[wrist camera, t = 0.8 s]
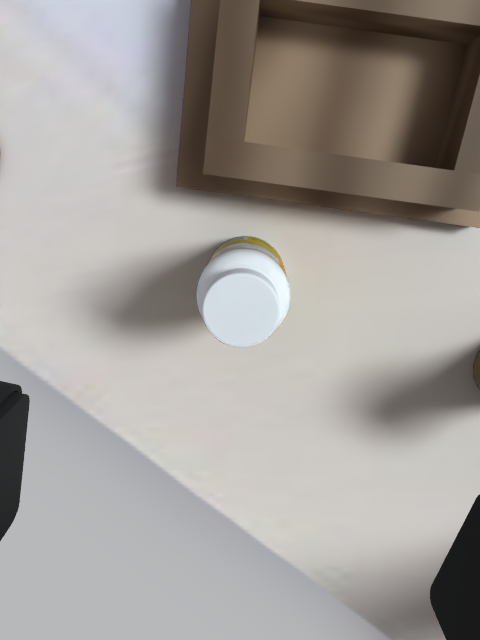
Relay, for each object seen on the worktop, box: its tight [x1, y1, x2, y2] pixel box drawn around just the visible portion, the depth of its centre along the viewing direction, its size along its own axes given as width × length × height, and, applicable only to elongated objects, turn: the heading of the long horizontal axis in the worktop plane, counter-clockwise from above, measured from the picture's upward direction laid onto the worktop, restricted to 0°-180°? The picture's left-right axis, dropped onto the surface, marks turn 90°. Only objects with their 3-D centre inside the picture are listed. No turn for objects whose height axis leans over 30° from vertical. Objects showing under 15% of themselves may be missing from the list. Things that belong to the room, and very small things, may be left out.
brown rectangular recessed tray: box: [176, 0, 480, 228], centre depth 26 cm, size 20×13×4 cm, turn 83°
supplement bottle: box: [196, 236, 290, 347], centre depth 27 cm, size 5×5×10 cm
